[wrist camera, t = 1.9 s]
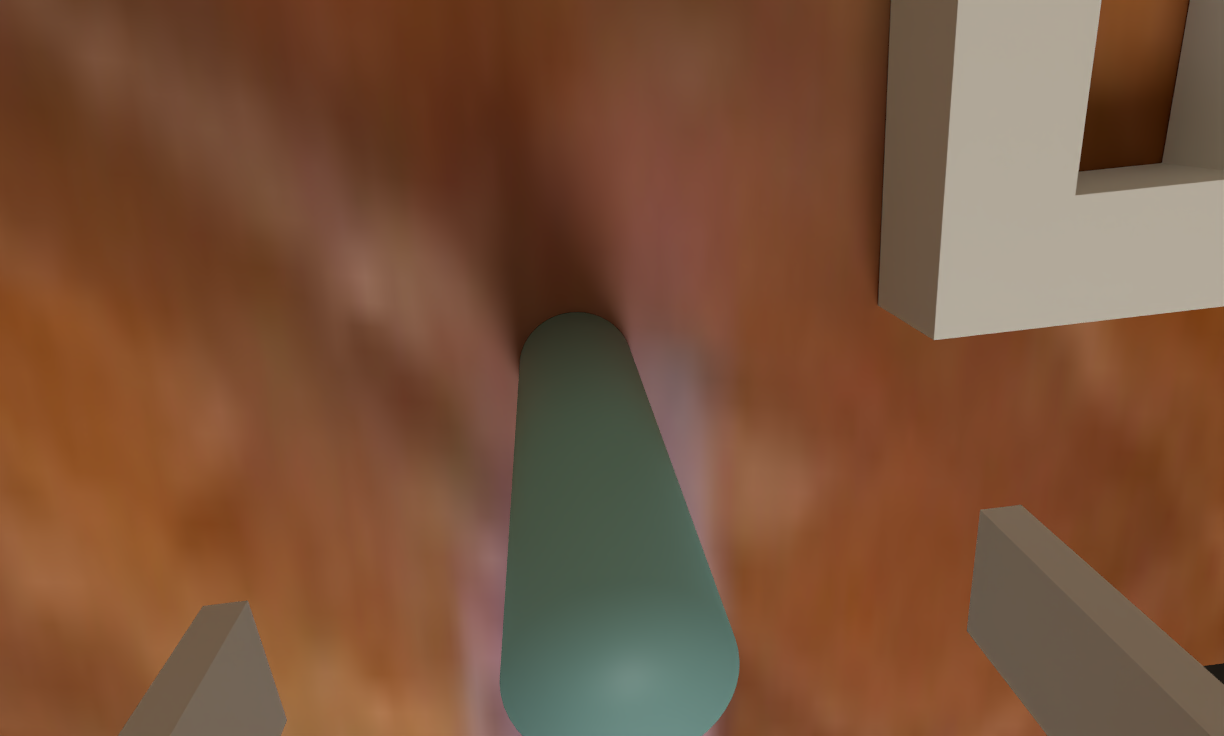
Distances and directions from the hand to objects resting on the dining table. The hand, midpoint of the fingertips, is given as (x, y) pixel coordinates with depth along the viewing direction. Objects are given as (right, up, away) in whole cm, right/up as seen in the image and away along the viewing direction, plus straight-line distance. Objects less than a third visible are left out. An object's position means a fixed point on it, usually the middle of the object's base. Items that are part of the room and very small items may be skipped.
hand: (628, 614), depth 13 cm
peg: (-2, +5, +13) cm, 14 cm away
